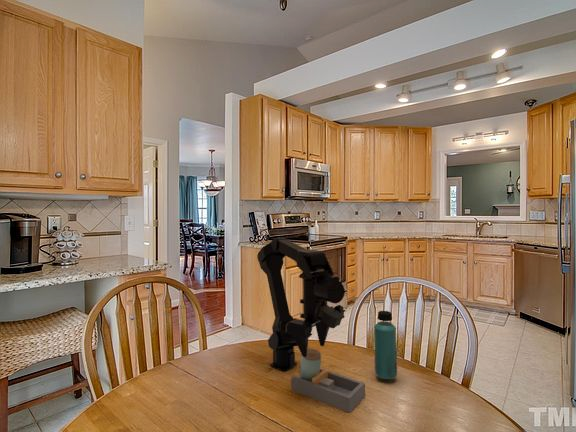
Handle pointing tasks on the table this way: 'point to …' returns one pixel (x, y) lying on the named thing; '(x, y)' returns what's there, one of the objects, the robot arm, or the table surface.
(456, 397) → the table surface
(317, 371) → the jar
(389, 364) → the beverage bottle
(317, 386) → the gray rectangular tray
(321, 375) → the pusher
